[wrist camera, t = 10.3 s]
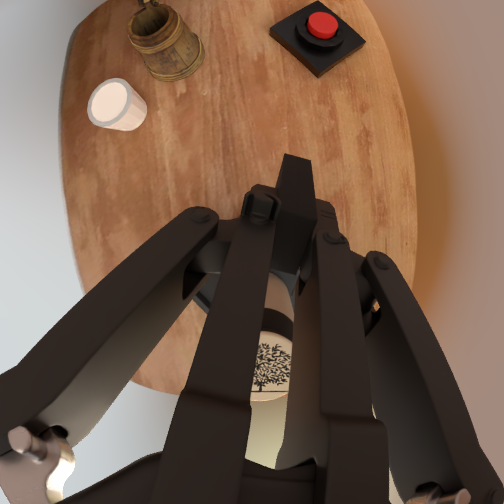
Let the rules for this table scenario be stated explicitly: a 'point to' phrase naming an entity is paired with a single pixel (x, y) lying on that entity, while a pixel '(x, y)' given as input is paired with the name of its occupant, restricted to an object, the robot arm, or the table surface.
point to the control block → (316, 40)
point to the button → (322, 25)
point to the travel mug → (274, 344)
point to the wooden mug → (165, 41)
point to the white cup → (116, 106)
